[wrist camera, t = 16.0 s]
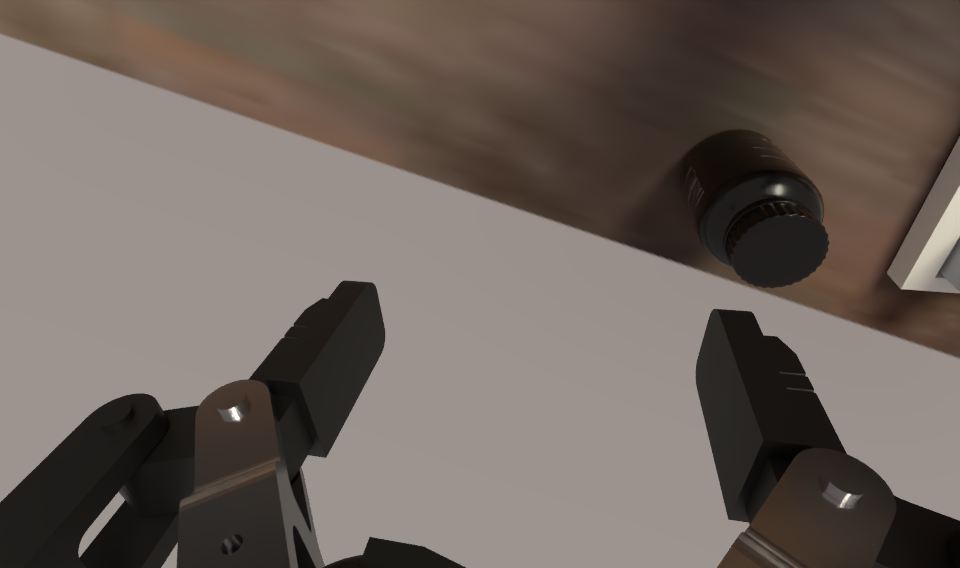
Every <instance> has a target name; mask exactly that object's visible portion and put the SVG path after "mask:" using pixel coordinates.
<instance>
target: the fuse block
mask: <svg viewBox="0 0 960 568" xmlns="http://www.w3.org/2000/svg"><path fill="white" fill-rule="evenodd" d="M959 237H960V137H959V139H958V141H957V142H956V144H955V146H954V148H953V150H952V152H951V154H950V156H949V157H948V159H947V161H946V163H945V165H944V167H943V169H942V170H941V172H940V174H939V176H938V178H937V180H936V182H935V184H934V185H933V187H932V189H931V191H930V193H929V195H928V197H927V199H926V200H925V202H924V204H923V206H922V208H921V210H920V212H919V213H918V215H917V217H916V219H915V221H914V223H913V225H912V227H911V228H910V230H909V232H908V234H907V236H906V238H905V240H904V242H903V243H902V245H901V247H900V249H899V251H898V253H897V255H896V257H895V258H894V260H893V262H892V264H891V266H890V268H889V270H888V271H887V274H888V275H889V276H890V278H891V279H892V280H893V281H894V282H895V283H896V284H897V285H898V287H899V288H900V289H905V290H919V291H933V292H947V293H960V291H958V290H957V289H956V288H955V287H954V286H953V285H952V284H951V283H950V282H949V281H948V280H947V279H946V278H945V277H944V276H943V275H942V274H941V273H939V270H940V268H941V267H942V265H943V263H944V262H945V260H946V258H947V257H948V255H949V254H950V252H951V250H952V249H953V247H954V245H955V244H956V242H957V240H958V239H959Z"/></svg>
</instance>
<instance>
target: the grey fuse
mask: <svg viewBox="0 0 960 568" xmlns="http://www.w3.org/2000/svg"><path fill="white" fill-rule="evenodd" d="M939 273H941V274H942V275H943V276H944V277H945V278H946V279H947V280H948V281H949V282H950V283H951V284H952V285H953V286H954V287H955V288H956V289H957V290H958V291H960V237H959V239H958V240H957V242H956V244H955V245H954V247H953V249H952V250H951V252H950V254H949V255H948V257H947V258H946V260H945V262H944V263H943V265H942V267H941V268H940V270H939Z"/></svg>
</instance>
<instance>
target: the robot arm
mask: <svg viewBox="0 0 960 568" xmlns="http://www.w3.org/2000/svg"><path fill="white" fill-rule="evenodd" d="M384 342H385V328H384V323H383V318H382V313H381V308H380V303H379V298H378V293H377V289H376V286H375V285H374V284H373V283H371V282H370V283H369V282H357V281H342V282H341V283H340V284H339V285H338V287H337V288H336V289H335V291H334V292H333V293H332V294H331V296H330V297H329V298H328V299H325V298H322V299H321V300H319V301H318V302H316V303H315V304H313V305H312V306H310V307H309V308H307V309H306V310H305V311H304V312H303V313H302V314H301V316H300V317H299V318H298V319H297V320H296V322H295V323H294V326H293V327H291V328H290V329H289V330H288V331H287V333H286V334H285V337H284V338H282V339H281V340H280V341H279V343H278V344H277V345H276V346H275V347H274V349H273V350H272V351H271V352H270V354H269V355H268V356H267V357H266V359H265V360H264V361H263V362H262V364H261V365H260V366H259V367H258V369H257V370H256V371H255V372H254V373H253V375H252V376H251V377H250V378H249V379H248V380H239V381H235V382H232V383H229V384H226V385H224V386H222V387H220V388H218V389H217V390H215V391H214V392H212V393H211V394H210V395H208V396H207V397H206V398H205V399H204V400H203V402H202V403H201V404H200V406H193V407H186V408H179V409H172V410H165V411H163V410H162V408H161V407H160V405H159V403H158V402H157V400H156V399H155V398H154V397H153V396H151V395H148V394H131V395H126V396H123V397H120V398H117V399H115V400H112V401H110V402H108V403H107V404H105V405H103V406H101V407H100V408H98V409H97V410H96V411H94V412H93V413H92V414H91V415H89V416H88V417H87V418H86V419H85V420H84V421H83V422H82V423H81V424H80V425H79V426H78V427H77V428H76V429H75V430H74V431H73V432H72V433H71V434H70V435H69V436H68V437H67V438H66V439H65V440H64V441H63V442H62V443H61V444H59V445H58V447H56V448H55V449H54V450H53V451H52V452H51V453H50V454H49V455H48V457H46V458H45V459H44V460H43V461H42V462H41V463H40V464H39V465H38V466H37V467H36V468H35V469H34V470H33V471H32V472H31V473H30V474H29V475H28V476H27V477H26V478H25V479H24V480H23V481H22V482H21V483H20V484H19V485H18V486H17V487H16V488H15V489H14V490H13V491H12V492H11V493H10V494H8V496H7V497H6V498H4V499H3V500H2V501H1V502H0V568H161V567H162V565H163V564H164V562H165V561H166V559H167V557H168V556H169V555H170V553H171V551H172V550H173V548H174V547H175V545H176V544H177V542H178V550H177V568H465V567H463V566H461V565H459V564H457V563H455V562H453V561H451V560H449V559H447V558H445V557H443V556H441V555H439V554H437V553H435V552H433V551H431V550H429V549H427V548H425V547H422V546H417V545H412V544H406V543H400V542H395V541H389V540H384V539H377V538H372V537H370V538H369V540H368V543H367V546H366V548H365V551H364V553H363V555H359V556H354V557H350V558H346V559H342V560H340V561H337V562H334V563H331V564H329V565H327V566H325V565H324V562H323V559H322V556H321V553H320V549H319V546H318V542H317V537H316V533H315V528H314V523H313V518H312V513H311V508H310V503H309V498H308V494H307V489H306V484H305V479H304V474H303V471H302V468H301V466H302V464H303V462H304V460H305V458H306V457H307V455H312V456H319V457H325V458H326V457H327V455H328V453H329V451H330V449H331V448H332V446H333V444H334V442H335V440H336V438H337V436H338V434H339V432H340V431H341V429H342V427H343V425H344V423H345V421H346V419H347V417H348V416H349V413H350V412H351V410H352V408H353V406H354V404H355V402H356V400H357V399H358V397H359V395H360V393H361V391H362V389H363V387H364V385H365V383H366V382H367V380H368V378H369V376H370V374H371V372H372V370H373V368H374V367H375V365H376V363H377V361H378V359H379V357H380V355H381V353H382V351H383V348H384ZM805 374H806V373H805V371H804V369H803V367H802V365H801V363H800V361H799V359H798V357H797V355H796V354H795V353H794V352H793V351H792V350H791V349H790V348H789V347H788V346H787V345H786V344H784V343H783V342H782V341H781V340H780V339H779V338H778V337H775V336H763V334H762V332H761V329H760V327H759V325H758V323H757V320H756V318H755V316H754V314H753V313H752V312H748V311H736V310H722V309H713V311H712V312H711V314H710V317H709V320H708V324H707V328H706V331H705V335H704V338H703V341H702V345H701V348H700V352H699V356H698V359H697V365H696V385H697V389H698V394H699V398H700V402H701V407H702V411H703V415H704V419H705V423H706V427H707V432H708V436H709V440H710V444H711V448H712V453H713V457H714V461H715V465H716V469H717V474H718V478H719V482H720V486H721V490H722V495H723V499H724V503H725V507H726V511H727V515H728V519H729V520H736V521H743V522H749V524H750V526H749V527H748V528H747V530H746V531H745V532H742V533H741V534H740V535H739V536H738V538H737V539H736V540H735V542H734V543H733V545H732V546H731V548H730V549H729V551H728V552H727V554H726V555H725V557H724V558H723V560H722V561H721V562H720V564H719V565H718V567H717V568H960V521H959V520H956V519H953V518H951V517H948V516H945V515H942V514H940V513H937V512H934V511H932V510H929V509H926V508H923V507H920V506H918V505H915V504H912V503H910V502H907V501H905V500H902V499H900V498H898V497H896V496H894V495H893V493H892V491H891V490H890V488H889V486H888V485H887V484H886V482H885V481H884V480H883V479H882V478H881V477H880V476H879V475H878V474H877V473H876V472H875V471H874V470H872V469H871V468H870V467H868V466H867V465H866V464H864V463H862V462H861V461H859V460H858V459H856V458H853V457H851V456H849V455H847V454H846V451H845V450H844V447H843V446H842V444H841V442H840V440H839V438H838V436H837V434H836V432H835V430H834V428H833V426H832V424H831V422H830V420H829V418H828V416H827V414H826V412H825V410H824V408H823V406H822V404H821V402H820V400H819V398H818V396H817V394H816V393H814V392H813V391H814V388H813V386H812V384H811V382H810V380H809V379H808V377H806V376H805ZM118 491H119V493H120V494H121V495H122V496H123V497H124V499H125V501H124V503H123V504H122V505H121V506H120V508H119V509H118V510H117V511H116V513H115V514H114V515H113V516H112V518H111V519H110V520H109V522H108V523H107V524H106V525H105V526H104V528H103V529H102V530H101V531H100V533H99V534H98V535H97V536H96V538H95V539H94V540H93V542H92V543H91V544H90V545H89V547H88V548H87V549H86V550H85V552H84V553H83V554H82V556H81V557H80V558H79V556H78V549H79V544H80V541H81V539H82V537H83V535H84V534H85V532H86V531H87V529H88V528H89V527H90V526H91V524H92V523H93V522H94V520H96V518H97V517H98V516H99V515H100V513H101V512H102V511H103V510H104V509H105V507H106V506H107V505H108V504H109V502H110V501H111V500H112V499H113V497H114V496H115V495H116V494H117V493H118Z"/></svg>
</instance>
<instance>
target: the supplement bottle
mask: <svg viewBox="0 0 960 568" xmlns="http://www.w3.org/2000/svg"><path fill="white" fill-rule="evenodd" d="M680 186H681V191H682V195H683V197H684V200H685V203H686V205H687V208H688V210H689V213H690V215H691V218H692V220H693V223H694V225H695V228H696V230H697V233H698V235H699V238H700V240H701V242H702V244H703V246H704V248H705V249H706V251H707V252H708V253H709V254H710V256H712V257H713V258H714V259H715V260H717V261H718V262H720V263H721V264H723V265H726V266H728V267H731V268H733V269H734V271H735V273H736V274H737V275H739V276H740V278H741V279H742V280H745V281H746V282H747V283H748V284H753V285H754V286H761V287H763V288H767V287H770V288H775V287H783V286H786V285H792V284H793V283H795V282H799V281H801V280H802V279H803V278H806V277H808V276H809V275H810V274H811V273H813V272H814V271H815V270H816V268H817V267H819V266H820V265H821V263H822V261H823V260H824V259H825V258H826V253H827V251H828V245H829V241H828V234H827V232H826V231H825V227H824V226H823V225H822V222H823V217H824V204H823V199H822V196H821V194H820V192H819V190H818V189H817V187H816V186H815V185H814V184H813V182H812V181H811V180H810V179H809V178H808V177H807V176H806V175H805V174H804V173H803V172H802V171H801V170H800V169H799V168H798V167H797V166H796V165H795V164H794V163H793V162H792V161H791V160H790V159H789V158H788V157H787V156H786V155H785V154H784V153H783V152H782V151H781V150H780V149H779V148H778V147H777V146H776V145H775V144H774V143H773V142H772V141H771V140H769V139H768V138H767V137H765V136H764V135H762V134H760V133H757V132H754V131H750V130H740V129H738V130H729V131H725V132H721V133H718V134H716V135H713V136H712V137H710V138H708V139H706V140H705V141H703V142H702V143H701V144H699V145H698V146H697V147H696V148H695V149H694V150H693V151H692V153H691V154H690V155H689V157H688V158H687V160H686V162H685V164H684V166H683V169H682V172H681V177H680Z"/></svg>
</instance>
